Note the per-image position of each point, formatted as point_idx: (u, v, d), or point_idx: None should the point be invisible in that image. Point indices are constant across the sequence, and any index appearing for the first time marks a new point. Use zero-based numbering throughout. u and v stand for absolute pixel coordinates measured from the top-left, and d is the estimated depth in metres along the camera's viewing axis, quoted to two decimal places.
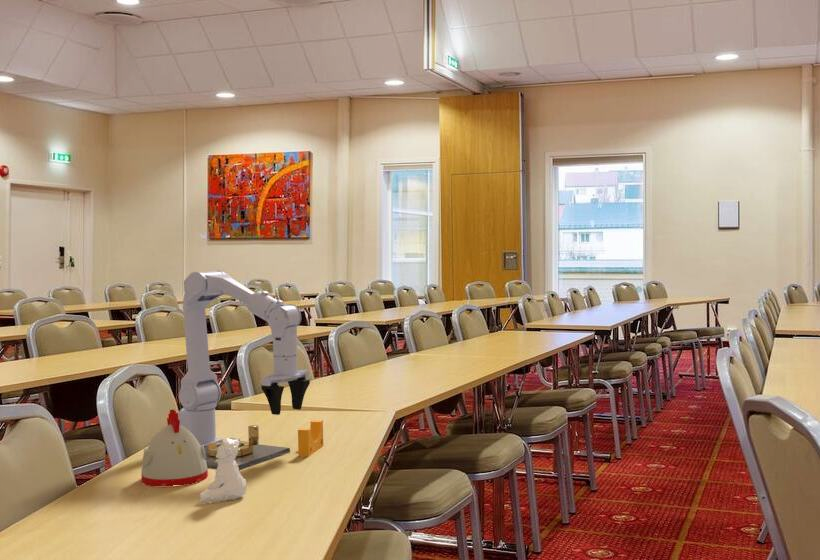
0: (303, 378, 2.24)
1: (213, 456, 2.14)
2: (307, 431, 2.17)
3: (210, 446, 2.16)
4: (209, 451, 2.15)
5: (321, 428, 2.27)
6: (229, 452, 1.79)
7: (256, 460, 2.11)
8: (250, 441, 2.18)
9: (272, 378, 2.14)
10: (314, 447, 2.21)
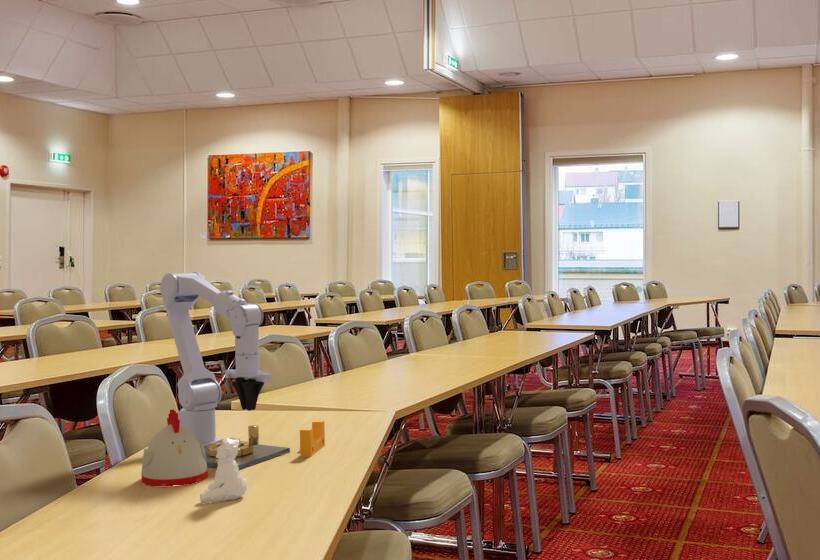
0: (252, 380, 2.20)
1: (213, 456, 2.14)
2: (309, 431, 2.16)
3: (210, 446, 2.16)
4: (209, 451, 2.15)
5: (323, 428, 2.27)
6: (229, 452, 1.79)
7: (256, 460, 2.11)
8: (250, 441, 2.18)
9: (228, 371, 2.25)
10: (315, 447, 2.21)
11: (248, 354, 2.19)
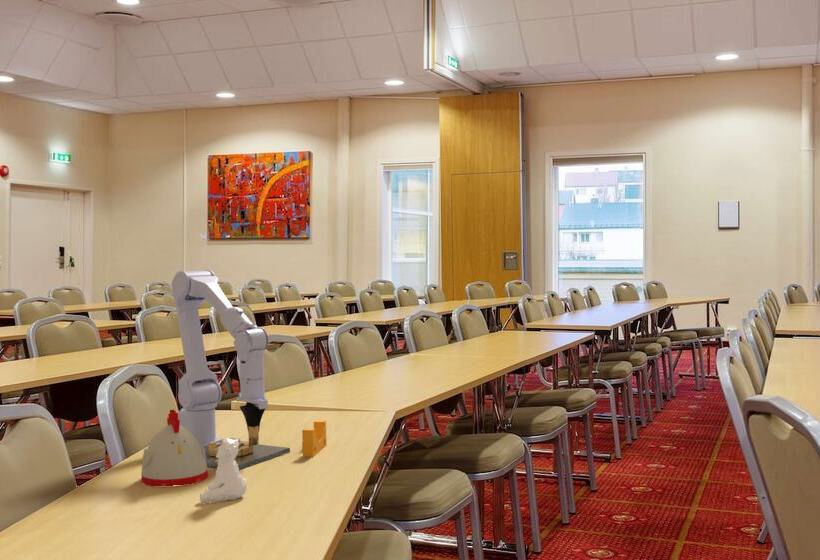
0: (251, 405, 2.19)
1: (213, 456, 2.14)
2: (311, 431, 2.16)
3: (210, 446, 2.16)
4: (209, 451, 2.15)
5: (324, 428, 2.27)
6: (229, 452, 1.79)
7: (256, 460, 2.11)
8: (250, 441, 2.18)
9: (239, 394, 2.25)
10: (317, 447, 2.21)
11: (249, 379, 2.17)
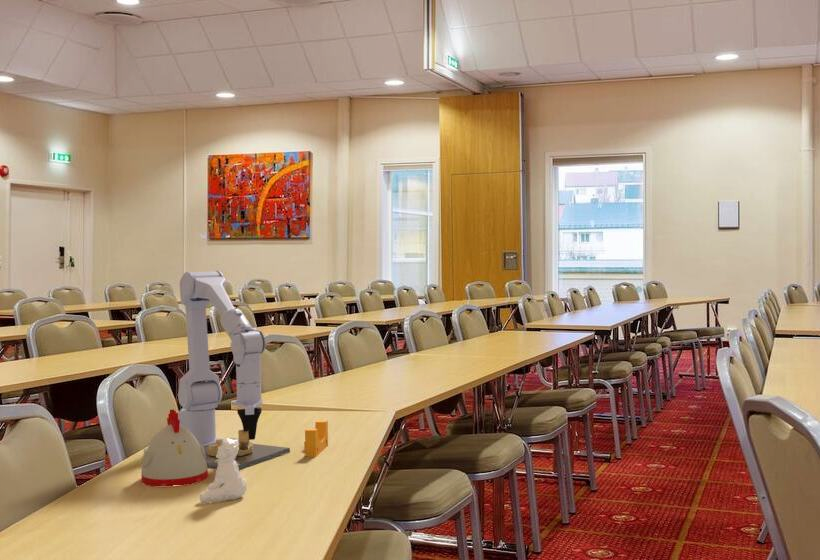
0: None
1: (213, 456, 2.14)
2: (314, 431, 2.16)
3: (216, 442, 2.21)
4: None
5: (326, 428, 2.27)
6: (229, 452, 1.79)
7: (256, 460, 2.11)
8: None
9: None
10: (320, 447, 2.20)
11: (241, 383, 2.12)
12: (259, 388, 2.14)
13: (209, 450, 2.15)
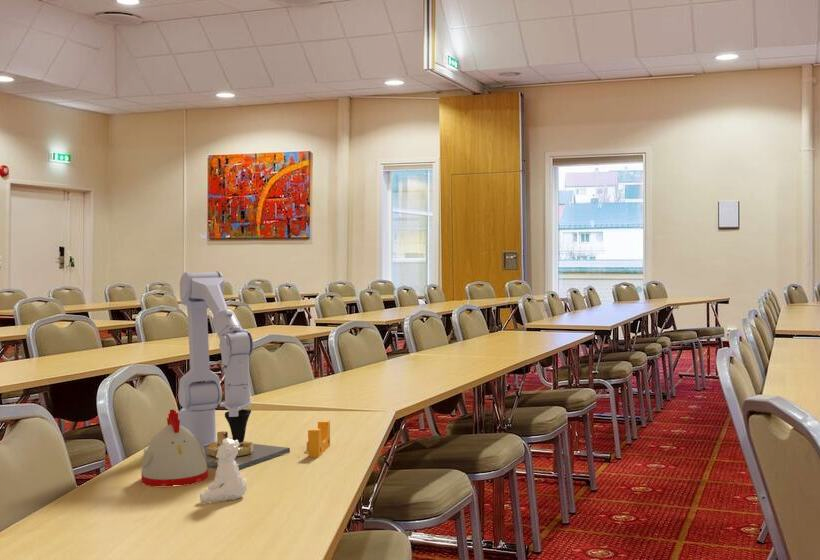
0: None
1: (213, 456, 2.14)
2: (317, 431, 2.16)
3: None
4: None
5: (328, 428, 2.27)
6: (229, 452, 1.79)
7: (256, 460, 2.11)
8: None
9: None
10: (323, 447, 2.20)
11: (228, 384, 2.10)
12: (247, 390, 2.11)
13: None
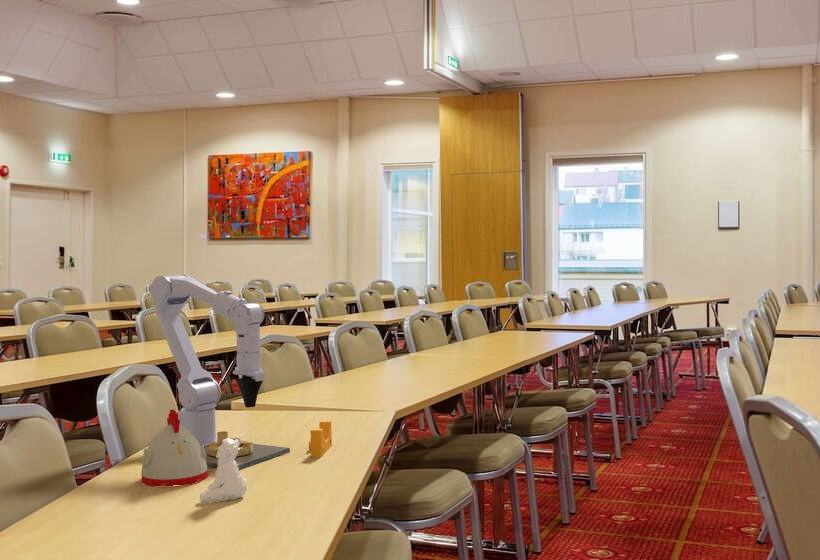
0: (249, 378, 2.23)
1: (213, 456, 2.14)
2: (320, 431, 2.16)
3: None
4: None
5: (330, 428, 2.27)
6: (229, 452, 1.79)
7: (256, 460, 2.11)
8: None
9: (236, 368, 2.30)
10: (325, 447, 2.20)
11: (245, 352, 2.23)
12: (260, 357, 2.25)
13: None
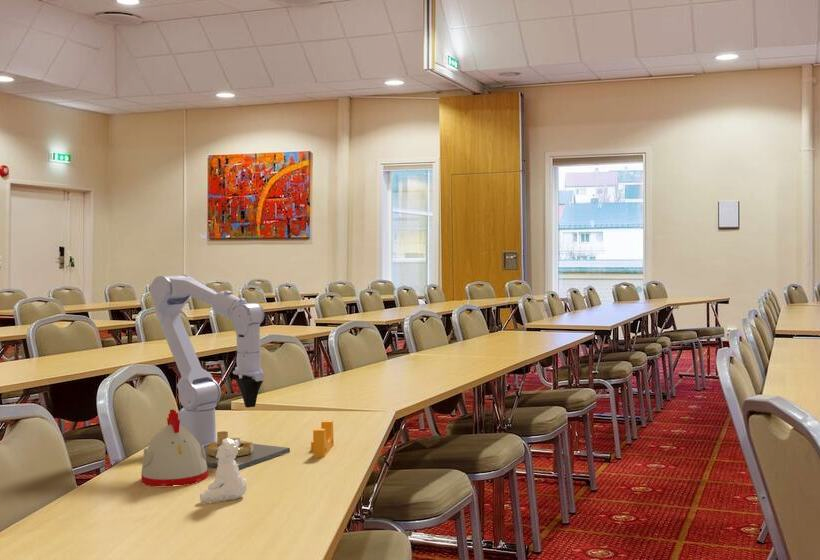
0: (249, 378, 2.23)
1: (213, 456, 2.14)
2: (323, 431, 2.16)
3: None
4: None
5: (332, 428, 2.27)
6: (229, 452, 1.79)
7: (256, 460, 2.11)
8: None
9: (236, 368, 2.30)
10: (327, 447, 2.20)
11: (245, 352, 2.23)
12: (260, 357, 2.25)
13: None
